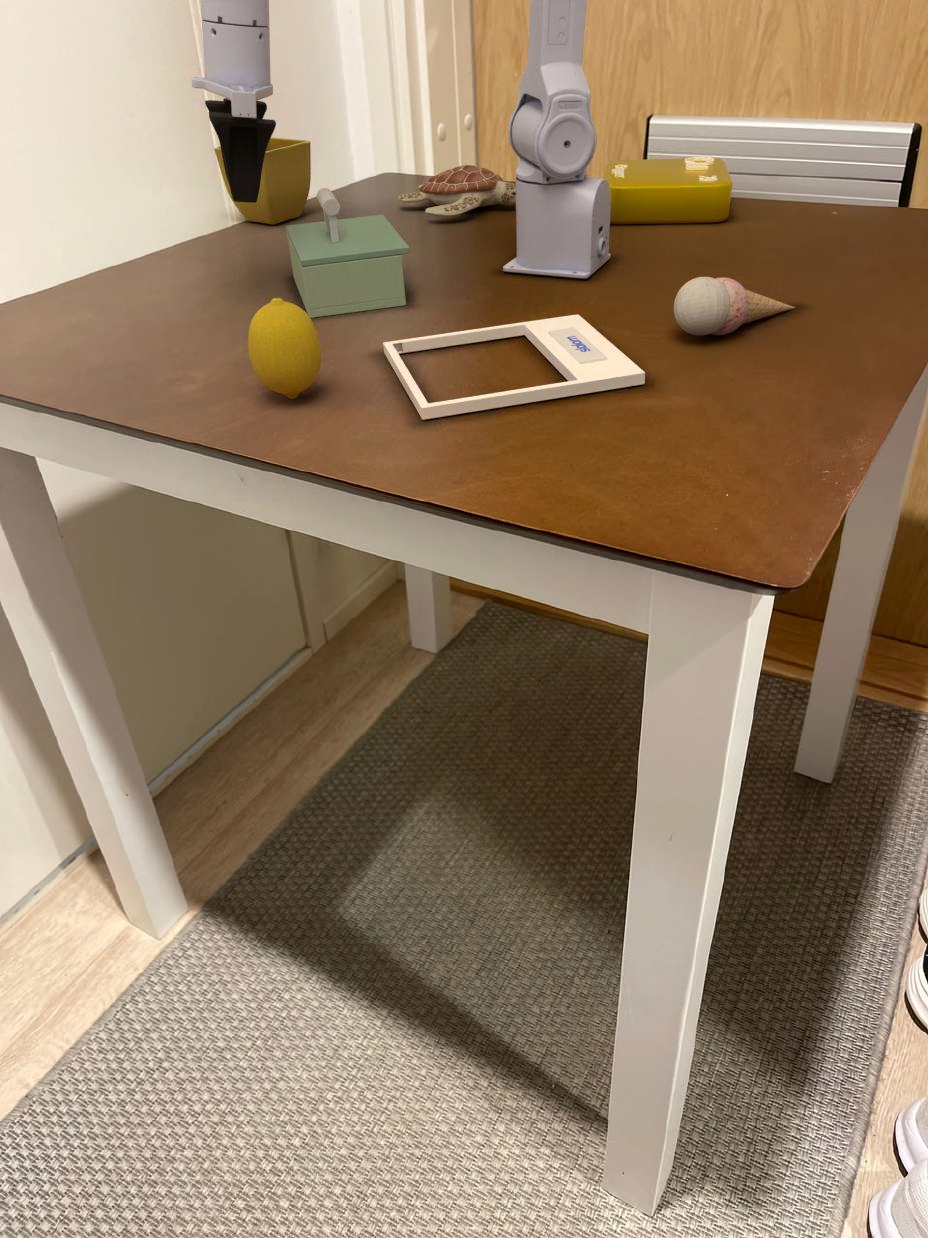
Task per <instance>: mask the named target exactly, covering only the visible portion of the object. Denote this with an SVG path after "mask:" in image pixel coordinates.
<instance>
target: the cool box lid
mask: <svg viewBox="0 0 928 1238" xmlns="http://www.w3.org/2000/svg"><path fill="white" fill-rule="evenodd" d="M316 200H317V202H318V203H319V205H320V206H321V208H322V212H323V221H313V222H305V223H296V224H288V225H285V230H286V231H285V232H286V234H287V233H288V236H289V238H290V240H291V243H292V245H293V247H294V250H295V252H296V254H297V257H298V259H299V262H300V264H301V266H302V267H303V266H311V265H319V264H327V263H335V262H343V261H351V260H360V259H368V258H376V257H384V256H392V255H400V254H401V255H406V254H410V253H411V252H410V249H411V248H410V246H409V245H408V244H407V242H406V241H405V240H404V239H403V237H402V236H401V235H400V234H399V233H398V231H397V230H396V229H395V227H394V226H393V225H392V224H391V223H390V221H389V220H388V219H387V217H386V216H385V215H384V214H373V215H365V216H357V217H356V216H355V217H348V218H347V217H346V218H339V219H337V215H338V214H339V213H340V211H341V205H340V202H339V201H338V199H337V197H336V196H335V195H334V193H333V192H332V191H331V189H329V187H328V188H327V187H322V188H320V189H319V190H318V191H317V193H316Z"/></svg>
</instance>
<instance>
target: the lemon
mask: <svg viewBox="0 0 928 1238" xmlns="http://www.w3.org/2000/svg"><path fill="white" fill-rule="evenodd" d="M248 328H249V329H248V335H247V336H248V337H247V338H248V339H247V347H248V348H247V349H248V357H249V360H250V364H251V367H252V369H253V371H254V374H255V375H256V377H257V378H258V380H259V381H260V382H261V383H262V384H263V385H264V386H265V387H267V388H268V389H270V390H271V391H273V392H275V393H278V394H283V395H284V396H285V397H287V398H288V399H291V400H293V399H297V398H298V397H299V396H300V394H301V393H302V391H305V390H307V389H308V388H309V387H311V385H312V384H313V383H314V382H315V381H316V380H317V377H318V376H319V372H320V370H321V367H322V366H321V365H322V346H321V341H320V338H319V335H318V332H317V331H318V330H317V328H316V327H315V324H314V322H313V319H312V318H310V317H309V316H308V314H307V311H306V310H303V308H301V307H300V306H298V305H296V304H295V303H292V302H288V301H284V300H283V299H282V298H281V297H274V298H272V299H271V300H270V301H269V303H266V304H265V305H263V306H262V307H261V308H259V309H258V310H257V311H256V312H255V314H254V315H253V317H252V319H251V321H250V324H249V327H248Z"/></svg>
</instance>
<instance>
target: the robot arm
mask: <svg viewBox="0 0 928 1238" xmlns="http://www.w3.org/2000/svg"><path fill="white" fill-rule="evenodd" d="M587 3H588V0H530V1H529V19H528V20H529V21H528V22H529V23H528V44H527V45H528V47H527V63H526V66H525V69H524V71H523V74H522V76H521V78H520V80H519V83H518V96H517V97H518V98H517V102H516V105H515V108H514V110H513V112H512V114H511V116H510V118H509V123H508V130H507V131H508V132H507V134H508V140H509V141H508V142H509V145H510V146H511V149H512V150H513V153H514V154H515V155H516V156H517V157H518V158H519V161H518V164H517V167H516V168H515V184H516V204H515V216H516V217H515V225H516V226H515V227H516V229H515V232H516V233H515V234H516V236H515V237H516V239H515V240H516V257H514V258H513V259H511V260H510V261H508V262H507V263H506V264H505V265H503V266H502V271H503V272H506V273H516V274H525V275H526V274H527V275H538V276H548V277H549V276H550V277H559V278H570V279H571V278H572V279H583V280H585V279H588V278H590V277H591V276H592V275H593V274H594V273H595V272H596V271H597V270H599V269H600V268H601V267H602V266H603V265H604V264H606V263H607V262H608V261H609V260H610V259H611V253H610V231H611V230H610V228H611V224H610V208H611V194H610V187H609V183H608V181H607V180H605V179H604V178H600V177H593V176H590V175H589V174H587V173H588V166H589V165H590V163H591V162H592V160H593V159H594V155H595V153H596V149H597V142H598V138H597V130H596V125H595V124H594V121H593V118H592V113H591V99H592V93H591V88H590V87H589V83H588V79H587V77H586V75H585V72H584V67H583V57H584V44H585V32H586V31H585V30H586V16H587ZM200 12H201V29H202V48H203V49H202V50H203V68H204V70H203V71H204V77H201V76H200V77H199V76H191V87H192V88H195V89H203V90H204V91H207V92H209V93H212V94H215V95H218V96H220V97H223V98H222V100H215V99H211V100H210V99H209V100H204V105H205V106H206V108H207V110H208V119H209V121H210V124H211V125H212V127H213V129H214V131H215V133H216V135H217V136H216V137H217V138H218V141H219V147H221V152H222V157H223V163H224V168H225V172H226V176H227V180H228V183H229V186H230V190H231V194H232V198H233V200H234V202H251V203H256V202H257V198H258V194H259V188H260V182H261V174H262V167H263V161H264V157H265V153H266V149H267V146H268V143H269V141H270V138H271V137H272V136H273V134H274V132H275V130H276V126H277V121H276V120H275V119H270V118H269V119H267V118H264V117H265V114H266V113H267V110H268V105H267V103H266V102H265V101H261V100H263V99H265V98H269V97H271V96H273V95H274V85H273V84H272V83H271V82H272V81H271V80H272V79H271V77H272V76H271V40H270V39H271V36H270V35H271V34H270V33H271V29H270V0H200Z"/></svg>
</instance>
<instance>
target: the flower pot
mask: <svg viewBox="0 0 928 1238" xmlns="http://www.w3.org/2000/svg"><path fill="white" fill-rule="evenodd" d="M213 150H214V154H215V156H216V160H217V162H218V167H219V170H220V174H221V176H222V180H223V183H224V186H225V188H226V191H227V194H228V195H229V197H230V199H231V201H232V203H233V204H234V206H235V207H236V208H237V210H238V211H239V213H240V214H241V215H242V216H243V217H244V218H245V220H247V221H248V222H253V223H261V224H268V225H272V226H274V225H277V224H279V223H282V222H286V221H290V220H293V219H297V218H299V217H300V216H301V215H302V213H303V211H304V209H305V206H306V204H307V201H308V198H309V193H310V190H311V189H310V188H311V179H312V178H311V176H312V175H311V174H312V171H311V170H312V167H311V166H312V160H311V159H312V158H311V157H312V156H311V155H312V154H311V151H312V150H311V140H307V139H294V138H285V137H284V138H283V137H272V136H271V138H270V141H269V143H268V146H267V149H266V153H265V157H264V161H263V167H262V174H261V182H260V188H259V194H258V198H257V202H256V203H251V202H234V200H233V198H232V194H231V190H230V186H229V183H228V180H227V176H226V172H225V168H224V163H223V157H222V152H221V147H220V146H217V147H214V148H213Z"/></svg>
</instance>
